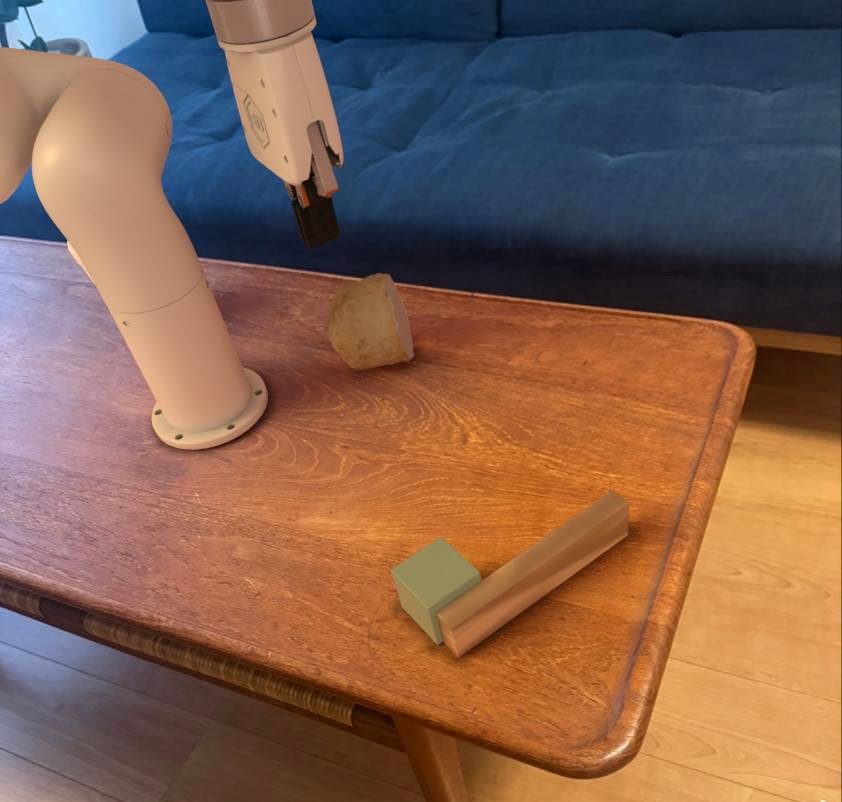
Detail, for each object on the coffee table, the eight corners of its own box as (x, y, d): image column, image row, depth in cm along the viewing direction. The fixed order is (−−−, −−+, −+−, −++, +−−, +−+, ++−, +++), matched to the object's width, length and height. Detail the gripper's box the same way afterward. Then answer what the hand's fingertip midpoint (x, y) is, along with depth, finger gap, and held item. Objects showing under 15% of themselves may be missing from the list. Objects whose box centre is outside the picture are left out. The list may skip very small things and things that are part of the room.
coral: (433, 322, 80) (332, 301, 78) (408, 395, 88) (316, 377, 86) (433, 263, 86) (339, 241, 84) (410, 336, 94) (323, 318, 92)
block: (401, 607, 67) (390, 569, 63) (449, 574, 69) (441, 535, 65) (437, 645, 64) (427, 608, 60) (487, 610, 66) (480, 572, 62)
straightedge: (443, 641, 64) (435, 612, 61) (611, 522, 69) (611, 489, 66) (458, 658, 63) (451, 629, 60) (628, 535, 68) (629, 502, 65)
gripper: (180, 7, 64) (252, 226, 78) (257, 51, 55) (322, 290, 69) (265, -23, 66) (320, 196, 80) (353, 15, 57) (398, 254, 71)
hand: (321, 239), depth 74 cm, fingers closed
